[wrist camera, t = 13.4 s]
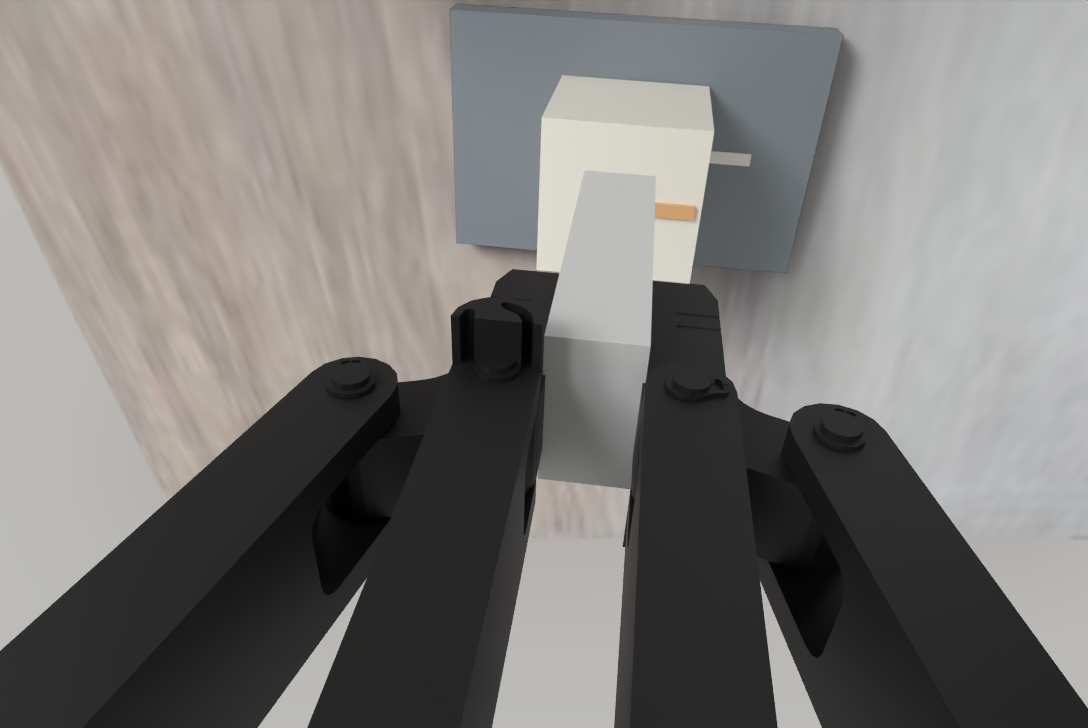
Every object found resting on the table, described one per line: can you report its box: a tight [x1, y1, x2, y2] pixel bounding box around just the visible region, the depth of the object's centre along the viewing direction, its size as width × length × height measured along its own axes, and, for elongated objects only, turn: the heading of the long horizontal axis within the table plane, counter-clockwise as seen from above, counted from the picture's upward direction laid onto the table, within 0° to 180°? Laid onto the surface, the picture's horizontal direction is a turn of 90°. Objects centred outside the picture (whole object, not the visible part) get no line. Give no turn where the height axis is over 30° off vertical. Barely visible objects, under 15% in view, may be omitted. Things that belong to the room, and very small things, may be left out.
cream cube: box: [536, 75, 714, 284], centre depth 36 cm, size 7×7×7 cm
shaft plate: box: [449, 4, 843, 273], centre depth 38 cm, size 12×18×6 cm, turn 88°
